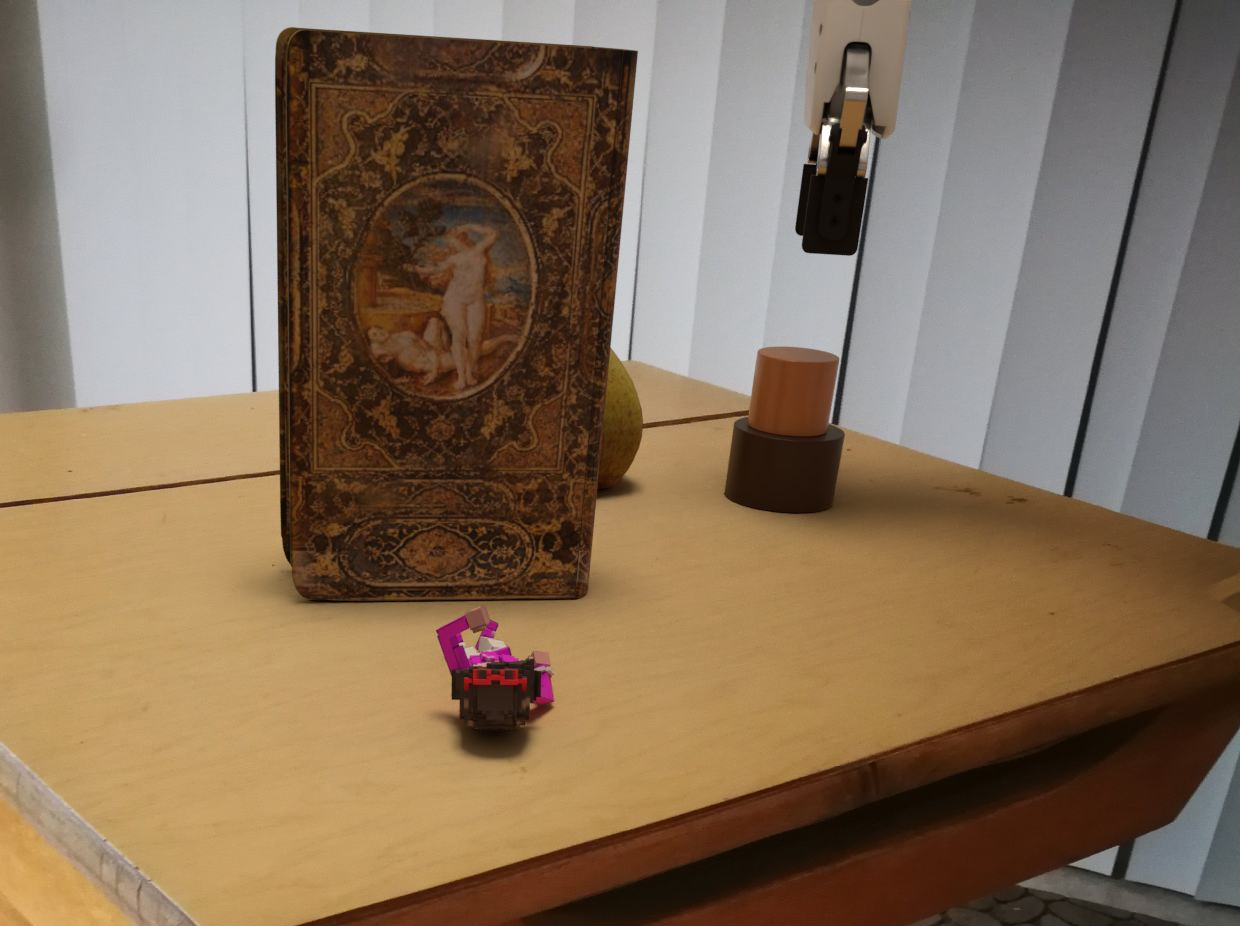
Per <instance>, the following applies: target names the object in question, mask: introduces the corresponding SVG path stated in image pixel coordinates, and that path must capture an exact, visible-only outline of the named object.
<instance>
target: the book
mask: <svg viewBox="0 0 1240 926" xmlns="http://www.w3.org/2000/svg"><path fill="white" fill-rule="evenodd" d="M638 54H639V51H638V50H635V49H626V48H616V47H615V48H614V47H604V46H603V47H602V46H593V45H580V44H579V45H577V44H564V43H563V44H562V43H544V42H530V41H514V40H499V39H482V38H468V37H467V38H466V37H452V36H451V37H450V36H435V35H434V36H433V35H418V34H403V33H402V34H401V33H386V32H368V31H356V30H339V29H323V28H310V27H309V28H307V27H295V26H290V27H289V26H288V27H286V28H284V29H283V30H281V31H280V32H279V34H278V36H277V39H276V42H275V54H274V109H275V111H274V112H275V113H274V115H275V121H274V122H275V179H276V180H275V195H276V197H275V198H276V199H275V200H276V201H275V203H276V205H275V206H276V271H277V272H276V273H277V277H276V279H277V281H276V282H277V284H276V285H277V342H278V343H277V352H278V353H277V356H278V357H277V359H278V360H277V362H278V363H277V365H278V433H279V434H278V435H279V436H278V437H279V439H278V441H279V443H278V445H279V511H280V513H279V514H280V536H281V543H282V550H283V554H284V557H285V558H286V561H287V562H288V564H289V565H290V567H291V576H292V581H293V584H294V587H295V590H296V592H297V594H298V595H300V597H302V598H304V599H306V600H315V601H316V600H317V601H318V600H319V601H342V602H343V601H347V602H403V601H405V602H408V601H409V602H411V601H412V602H413V601H417V602H418V601H477V600H479V601H480V600H484V601H485V600H487V601H488V600H547V599H549V600H550V599H553V600H554V599H555V600H557V599H574V600H577V599H580V598H583V597H584V596H586V594H587V593H588V591H589V583H590V574H591V573H590V572H591V563H592V562H591V561H592V550H593V538H594V529H595V519H596V517H595V516H596V508H597V497H598V496H597V495H598V489H597V487H598V476H599V466H600V455H601V444H602V433H603V422H604V412H605V401H606V390H607V379H608V369H609V358H610V347H612V337H613V336H612V335H613V334H612V333H613V326H614V325H613V324H614V312H615V304H616V303H615V302H616V293H617V292H616V291H617V281H618V272H619V271H618V270H619V261H620V249H621V240H622V239H621V238H622V227H623V217H624V208H625V207H624V205H625V195H626V184H627V173H628V163H629V150H630V143H631V142H630V141H631V131H632V120H633V109H634V98H635V87H636V76H637V66H638V57H639V55H638Z"/></svg>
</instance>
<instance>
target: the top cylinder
mask: <svg viewBox="0 0 1240 926" xmlns="http://www.w3.org/2000/svg"><path fill="white" fill-rule="evenodd" d="M839 365H840V357H839V356H838V355H837V354H834V353H832V352H828V351H825V350H820V349H815V348H808V347H799V346H767V347H761V348H759V349H758V350H757V352H756V359H755V367H754V373H753V380H752V388H751V395H750V400H749V401H750V402H749V408H748V416H747V417H748V422H747V423H748V425H749V426H750V427H751V428H753V429H755V430H758V431H761V432H765V433H770V434H775V435H782V436H792V437H812V436H819V435H823V434H825V433H826V432H827V430H828V425H829V424H830V420H831V419H830V418H831V414H832V413H831V412H832V406H833V401H834V395H835V389H836V383H837V382H836V381H837V377H838V371H839Z"/></svg>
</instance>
